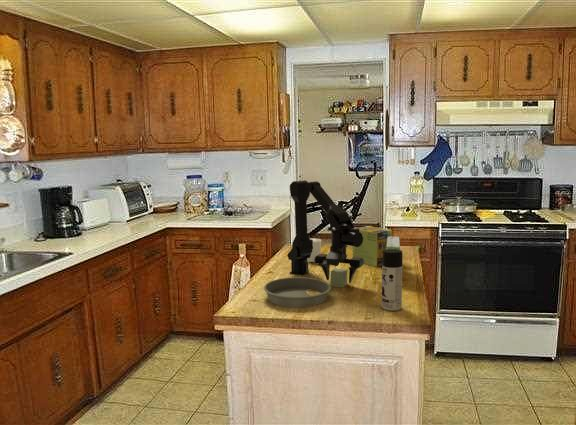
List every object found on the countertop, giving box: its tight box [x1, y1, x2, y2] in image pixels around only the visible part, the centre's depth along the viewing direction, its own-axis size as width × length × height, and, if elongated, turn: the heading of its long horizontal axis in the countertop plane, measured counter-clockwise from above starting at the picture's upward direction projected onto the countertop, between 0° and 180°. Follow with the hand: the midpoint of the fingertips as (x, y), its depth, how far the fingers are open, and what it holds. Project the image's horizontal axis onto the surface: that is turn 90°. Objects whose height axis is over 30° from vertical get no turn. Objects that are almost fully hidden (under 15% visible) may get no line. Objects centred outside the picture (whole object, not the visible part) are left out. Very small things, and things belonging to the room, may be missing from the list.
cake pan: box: [263, 276, 332, 308], centre depth 186 cm, size 25×25×4 cm
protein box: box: [352, 225, 393, 267], centre depth 234 cm, size 10×15×16 cm
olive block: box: [330, 267, 348, 288], centre depth 200 cm, size 5×5×6 cm
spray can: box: [381, 249, 403, 312], centre depth 171 cm, size 7×7×20 cm
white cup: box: [307, 237, 322, 263], centre depth 238 cm, size 8×8×10 cm
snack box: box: [386, 236, 401, 250], centre depth 210 cm, size 21×6×15 cm, turn 168°
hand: (338, 281), depth 200 cm, fingers open, 9 cm apart
